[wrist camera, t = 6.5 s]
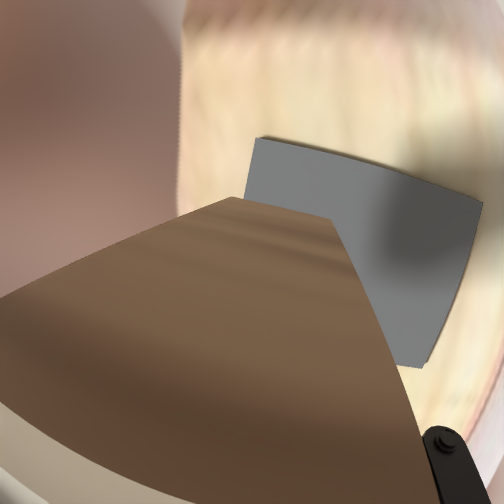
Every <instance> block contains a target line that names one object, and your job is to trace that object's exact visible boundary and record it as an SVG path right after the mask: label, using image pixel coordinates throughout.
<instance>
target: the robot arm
mask: <svg viewBox="0 0 504 504" xmlns="http://www.w3.org/2000/svg"><path fill="white" fill-rule="evenodd" d="M421 438H422V441H423V444H424V447H425V451H426V454H427V457H428V461H429V464H430V468H431V471H432V475H433V478H434V482H435V486H436V490H437V493H438V497H439V501H440V504H491V502H490V499H489V496H488V494H487V491H486V489H485V487H484V484H483V482H482V479H481V477H480V475H479V472H478V470H477V468H476V465H475V463H474V461H473V459H472V456H471V454H470V452H469V450H468V448H467V446H466V443H465V441H464V440H463V439H462V437H461V436H460V435H459V434H458V433H457V432H455V431H454V430H452V429H450V428H448V427H444V426H433V427H430V428H429V429H428V430H426V431H425V433H424V434H423V436H422V437H421Z"/></svg>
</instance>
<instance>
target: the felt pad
mask: <svg viewBox="0 0 504 504" xmlns="http://www.w3.org/2000/svg"><path fill="white" fill-rule="evenodd" d="M244 199H245V200H250V201H255V202H259V203H264V204H268V205H273V206H277V207H281V208H286V209H290V210H294V211H298V212H303V213H307V214H311V215H315V216H319V217H323V218H327V219H331V221H332V223H333V225H334V227H335V229H336V231H337V233H338V235H339V237H340V239H341V241H342V243H343V245H344V247H345V249H346V251H347V253H348V255H349V257H350V259H351V261H352V264H353V266H354V268H355V270H356V272H357V274H358V276H359V279H360V281H361V283H362V285H363V287H364V290H365V292H366V294H367V296H368V299H369V301H370V303H371V306H372V308H373V310H374V312H375V315H376V317H377V319H378V322H379V324H380V327H381V329H382V331H383V334H384V336H385V339H386V341H387V344H388V346H389V349H390V351H391V354H392V356H393V359H394V361H395V364H396V365H401V366H407V367H414V368H421V369H422V368H423V366H424V364H425V362H426V360H427V358H428V356H429V354H430V352H431V350H432V347H433V345H434V343H435V341H436V339H437V337H438V335H439V332H440V330H441V328H442V326H443V323H444V321H445V319H446V316H447V314H448V311H449V309H450V306H451V304H452V301H453V299H454V296H455V294H456V291H457V288H458V286H459V283H460V280H461V277H462V274H463V272H464V269H465V266H466V263H467V259H468V256H469V253H470V250H471V247H472V243H473V240H474V236H475V233H476V229H477V226H478V222H479V218H480V214H481V210H482V206H483V202H480V201H478V200H475V199H473V198H470V197H468V196H465V195H462V194H460V193H457V192H454V191H452V190H449V189H446V188H443V187H441V186H438V185H435V184H432V183H429V182H426V181H423V180H420V179H417V178H414V177H411V176H408V175H405V174H402V173H399V172H395V171H392V170H389V169H386V168H382V167H379V166H375V165H372V164H368V163H365V162H361V161H358V160H354V159H350V158H346V157H342V156H339V155H335V154H331V153H327V152H322V151H318V150H314V149H310V148H305V147H301V146H296V145H291V144H287V143H282V142H277V141H272V140H267V139H261V138H256V139H255V144H254V149H253V154H252V159H251V164H250V169H249V174H248V179H247V184H246V189H245V194H244Z"/></svg>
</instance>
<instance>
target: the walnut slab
mask: <svg viewBox="0 0 504 504" xmlns="http://www.w3.org/2000/svg"><path fill="white" fill-rule="evenodd" d="M0 504H440V501H439V497H438V493H437V490H436V486H435V482H434V478H433V475H432V471H431V468H430V464H429V461H428V457H427V454H426V451H425V447H424V444H423V441H422V438H421V435H420V432H419V428H418V425H417V422H416V419H415V416H414V413H413V411H412V408H411V405H410V402H409V399H408V396H407V393H406V391H405V388H404V385H403V382H402V380H401V377H400V374H399V372H398V369H397V367H396V364H395V361H394V359H393V356H392V354H391V351H390V349H389V346H388V344H387V341H386V339H385V336H384V334H383V331H382V329H381V327H380V324H379V322H378V319H377V317H376V315H375V312H374V310H373V308H372V306H371V303H370V301H369V299H368V296H367V294H366V292H365V290H364V287H363V285H362V283H361V281H360V279H359V276H358V274H357V272H356V270H355V268H354V266H353V264H352V261H351V259H350V257H349V255H348V253H347V251H346V249H345V247H344V245H343V243H342V241H341V239H340V237H339V235H338V233H337V231H336V229H335V227H334V225H333V223H332V221H331V219H327V218H323V217H319V216H315V215H311V214H307V213H303V212H298V211H294V210H290V209H286V208H281V207H277V206H273V205H268V204H264V203H259V202H255V201H250V200H245V199H241V198H236V197H229V198H226V199H224V200H221V201H218V202H216V203H213V204H211V205H208V206H205V207H203V208H200V209H198V210H195V211H193V212H190V213H187V214H185V215H182V216H180V217H177V218H175V219H173V220H170V221H167V222H165V223H163V224H160V225H158V226H155V227H153V228H151V229H148V230H146V231H143V232H141V233H139V234H136V235H134V236H131V237H129V238H127V239H125V240H122V241H120V242H118V243H115V244H113V245H111V246H108V247H106V248H104V249H102V250H100V251H97V252H95V253H93V254H91V255H88V256H86V257H84V258H82V259H80V260H77V261H75V262H73V263H71V264H69V265H67V266H64V267H62V268H60V269H58V270H56V271H54V272H52V273H50V274H48V275H46V276H44V277H41V278H39V279H37V280H35V281H33V282H31V283H29V284H27V285H25V286H23V287H21V288H19V289H17V290H15V291H14V292H11V293H10V294H7V295H6V296H4V297H2V298H0Z"/></svg>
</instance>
